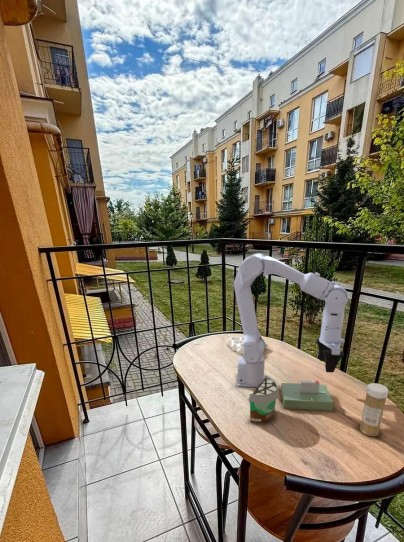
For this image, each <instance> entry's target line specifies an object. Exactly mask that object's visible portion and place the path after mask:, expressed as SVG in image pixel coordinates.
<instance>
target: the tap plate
mask: <svg viewBox="0 0 404 542" xmlns="http://www.w3.org/2000/svg"><path fill="white" fill-rule="evenodd" d="M300 387H301V383H294V382H280V396H281V400H282V405H283V408H284V409H294V410H307V411H308V410H309V411H326V412H327V411H328V412H333V411H334V405H335V402H334V399H333V397H332V395H331V394H330V391H329V389H328V386H327V385H326V384H320V385H319V393H318V394H317V393H301V391H300Z"/></svg>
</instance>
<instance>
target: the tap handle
mask: <svg viewBox="0 0 404 542" xmlns="http://www.w3.org/2000/svg"><path fill="white" fill-rule="evenodd" d="M300 384H301V387H300V391H301V393H317V394H318V393H319V385H321V383H320V381H319V380H300Z"/></svg>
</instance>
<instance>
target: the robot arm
mask: <svg viewBox="0 0 404 542" xmlns="http://www.w3.org/2000/svg"><path fill="white" fill-rule="evenodd" d="M262 273H263V276H267V275H274V274H275V275H277V276H279V277H281V278H283V279H286V280H288V281H291V282H293V283H295V284H297V285H299V288H300V290H301V291H302V292H304V293H306V294H308V295H309V296H312V297H314V298H316V299H318V300H320V301H324V302H325V303H324V308H323V310H322V311H323V312H322V319H321V327H320V335H319V338H316V339H315V341H316V344H317V348H318V355H319V361H320V362H324V363H325V364H324V366H325V367H324V368H325V373H332V374H333V373H334V372H335V370H336V368H337V365H338V364H339V362H340V361H341V360H342V359H343V358H344V357H345V353H344V352H343V351H341V344H345V342H346V340H345V338H342V332H343V325H344V319H345V309H346V305H347V303H348V301H349V296H348V292H347V290H346V288H345V287H344V286H343V285H341V284H340V283H336V281H334V280H332V281H330V280H328V279H326V278H324V277H321V274H320V273H319V272H314V273H313V272H308V273H303V272H301V271H299V270H297V269H296V268H294V267H291V266H290V265H288V264H286V263H284V262H282V261H280V260H278V259H276V258H274V257H272V256H270V255H265V254H263V253H260V252H255V253H253V254H252V255H249V256H247V257H246V258H245V257H244V259H243V261H242V262H241V263H240V264H239V265H238V270H237V272H236V276H235V277H234V281H233V289H234V292H235V293H234V294H235V297H236V301H237V302H236V303H237V308H238V312H239V318H240V323H241V327H242V332H243V337H244V340H243V346H244V349H243V353H242V354H241V355H242V357H238V358H237V372H236V379H237V386H238V387H245V388H246V387H247V388H257V387H258V385H259V384H260V383H261V382H262V381H263V380H264V376H265V362H266V358H265V355H264V352H265V350H266V349H267V348H266V344H267V343H266V342H265V340H264V339H263V336H262V333H261V332H260V330H259V325H258V319H257V315H256V309H255V304H254V299H253V294H252V289H251V288H252V287H251V286H252V284H253V282H254V281H255V280H256V278H258V277H259V276H260V275H261V274H262ZM265 348H266V349H265Z"/></svg>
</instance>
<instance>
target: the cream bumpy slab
mask: <svg viewBox="0 0 404 542" xmlns="http://www.w3.org/2000/svg"><path fill="white" fill-rule="evenodd" d="M243 340H244V336H243V337H241V336H231V337H229V339H228V346H229V348H230V349H232V351H233V352H236V353H237V354H239V355H242V353H243V349H244V346H243ZM265 344H266V348H265V350H266V349H267V348H268V344H267V343H265Z"/></svg>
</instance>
